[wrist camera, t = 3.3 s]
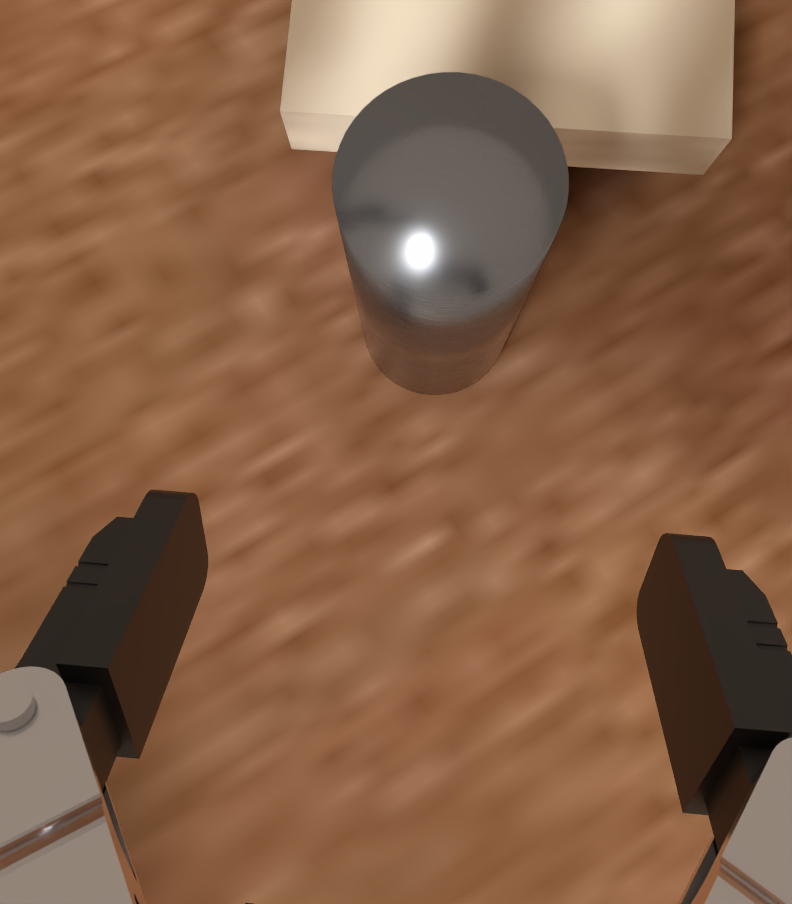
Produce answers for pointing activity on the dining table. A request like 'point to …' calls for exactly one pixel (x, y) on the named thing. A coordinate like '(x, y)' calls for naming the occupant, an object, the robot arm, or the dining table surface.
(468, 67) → the birch slab
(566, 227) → the dining table surface
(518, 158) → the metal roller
